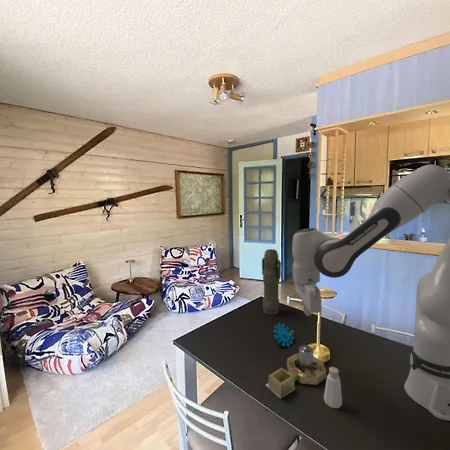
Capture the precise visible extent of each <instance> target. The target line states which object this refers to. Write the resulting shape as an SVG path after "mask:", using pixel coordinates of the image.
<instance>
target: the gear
mask: <svg viewBox="0 0 450 450" xmlns="http://www.w3.org/2000/svg"><path fill="white" fill-rule="evenodd" d="M285 327H286V328H285ZM289 330H290V327H289V326H286V324H285V323H277V325H275V326H274V329H273V330H272V332H273V333H274V336H273V337H274V339H276V340H277V341H276V342H277V344H280V343H281V346H282V347H285V346H286V347H287V348H289V347H290V345H293V343H294V342H293V341H294V339H295V338H294V336H292V335H293V334H294V333H295V332H294V330H293V329H292V330H290V331H289Z"/></svg>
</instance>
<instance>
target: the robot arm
mask: <svg viewBox="0 0 450 450" xmlns="http://www.w3.org/2000/svg"><path fill="white" fill-rule="evenodd" d="M442 202H443V203H446V204H450V169H448V170H447V169H446V168H444V167H442V166H440V165H436V164H425V165H422V166H420V167H418V168H417V169H414V170H412V172H409V173H408V174H407V175H405V176H404V177H402V178H400V179H399V180H398V181H397V182H395V183H394V184H392V185H391V186H389V187H388V188H387V189H386V190H385V191H384V192H383V193H382V194H381V195H380V196H379V197H378V198H377V199H376V200H375V201H374V203H373V207H372V209H371V211H370V213H369V215H368V216H367V218H366V219H365V220H364V221H362V223H360V225H358V226H357V227H355V228H354V229H353V230H352V231H351V232H349V233H348V234H347V235H345V236H344V237H343V238H342V239H341V238H338V237H334V236H331V235H327V234H325V233H323V232H321V231H319V230H318V229H317V228H315V227H309V228H308V227H307V228H303V229H299V230H298V231H296V232H295V233H294V234H293V237H292V248H291V249H292V251H291V252H292V257H293V263H292V268H291V274H292V279H293V287H294V290H295V291H294V292H295V293H296V294H297V295H298V297H299V298H300V300H301V304H302V307H303V309H302V310H303V313H304V314H305V315H306V316H312V314H317V313H321V312H322V309H323V307H322V295H321V290H320V288H319V287H318V286H317V283H319V282H321V274H322V275H324V276H326V277H328V278H333V279H334V278H335V279H337V278H341V277H343V276H345V275H347V274H348V273H349V271H350V270H351V268H352V267H353V265H354V263H355V261H356V260H357V258H359V256H361V255H362V254H363V253H366V251H367V250H369V249H371V247H373V246H374V245H375V244H377V243H378V242H379V241H380V240H381V239H383V238H384V237H386V236H387V235H389V234H390V233H392V232H394V231H395V230H398V229H399V228H400V227H402V226H405V225H406V224H408V223H410V222H411V221H413V220H414V219H416V218H418V217H419V216H421V215H422V214H424V213H425V212H426V211H427V210H429V209H431V207H433V206H435V205H437V204H440V203H442ZM414 318H415V319H414V330H413V331H414V332H413V333H414V334H413V346H412V347H411V352H410V359H409V364H410V369H409V374H408V376H407V378H406V381H405V382H404V384H403V387H404V390H405V393H406V394H407V395H408V396H409V398H411V399H412V400H413V401H414V402H416V404H419V405H420V406H421V407H423V408H425V409H426V410H428V412H430V413H431V414H432V415H433V416H434V417H435V418H437V419H439V420H443V421H450V238H449V239H448V241H447V242H446V243H445V245H444V247H443V248H442V250H441V251H440V253H439V255H438V256H437V259H436V261H435V263H434V266H433V268H432V270H431V271H430V272H428V273H426V274H424V275H423V276H422V277H420V279H419V281H418V282H417V286H416V298H415V317H414Z"/></svg>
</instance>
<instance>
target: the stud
mask: <svg viewBox="0 0 450 450" xmlns="http://www.w3.org/2000/svg"><path fill="white" fill-rule="evenodd" d="M298 354H299V364H298V366H296V368H298V369H299V370H301V371H302V372H305V370H310V371H311V373H313V372H314V371H315V369H314V367H313V356H314V349H313V347H311V346H310V345H308V344H302V345H301V346H299V348H298Z"/></svg>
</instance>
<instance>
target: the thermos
mask: <svg viewBox="0 0 450 450" xmlns="http://www.w3.org/2000/svg"><path fill="white" fill-rule="evenodd" d="M281 266H282V262H281V260H279V253H278V251H277V250H276V249H272V248H271V249H270V248H269V249H266V250H265V252H264V254H263V257H262V259H261V274H262V280H263V299H262V308H263V313H264V314H265V315H267V316H277V315H278V314H279V313H280V299H279V283H280V280H281V276H282V267H281Z"/></svg>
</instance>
